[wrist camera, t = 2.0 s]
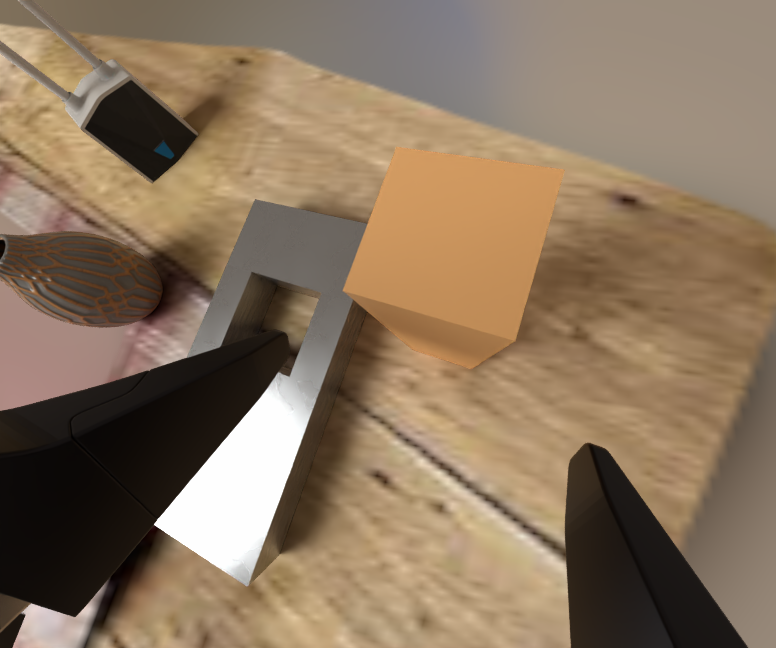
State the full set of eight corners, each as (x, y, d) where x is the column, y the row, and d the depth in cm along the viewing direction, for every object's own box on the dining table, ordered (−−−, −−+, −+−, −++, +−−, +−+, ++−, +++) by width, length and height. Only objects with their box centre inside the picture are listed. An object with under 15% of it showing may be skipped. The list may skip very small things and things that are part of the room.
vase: (167, 335, 24) (13, 310, 16) (104, 331, 25) (-66, 306, 17) (184, 258, 25) (51, 196, 17) (124, 259, 27) (-26, 202, 18)
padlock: (180, 116, 29) (-86, -145, 15) (201, 136, 28) (-67, -127, 13) (135, 164, 29) (-174, -50, 15) (153, 186, 28) (-163, -24, 13)
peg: (471, 369, 18) (515, 341, 6) (412, 349, 19) (342, 290, 7) (489, 310, 19) (564, 169, 6) (430, 294, 20) (396, 146, 7)
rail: (279, 555, 19) (247, 586, 16) (168, 487, 21) (123, 504, 18) (389, 247, 21) (380, 226, 18) (278, 221, 24) (255, 199, 21)
